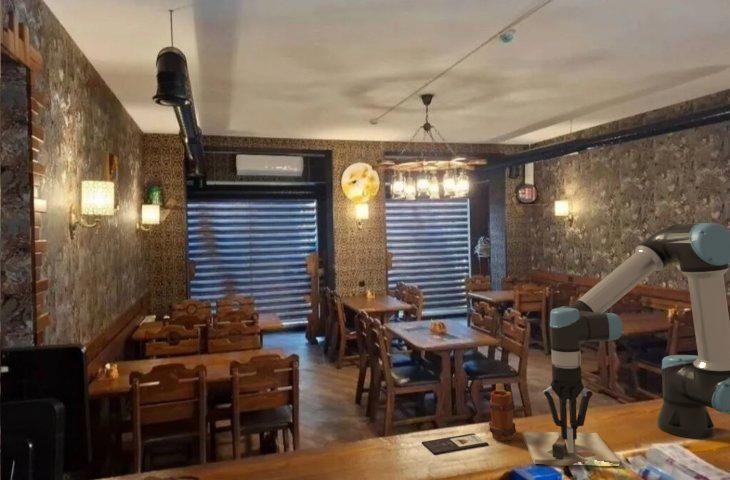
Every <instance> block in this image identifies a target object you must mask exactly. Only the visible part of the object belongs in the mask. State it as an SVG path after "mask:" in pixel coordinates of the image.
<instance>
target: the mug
mask: <svg viewBox="0 0 730 480" xmlns="http://www.w3.org/2000/svg"><path fill="white" fill-rule="evenodd" d="M488 404H489V405H488V407H489V408H490V414H491V421H489V422H488V425H489V428H488V431H489V432H490V433H491V436H492V438H493V439H494V440H497V441H502V442H503V441H510V440H512V439H513V438H514V434H515V433H516V432H517V429H516V423H515V422H514V414H513V413H514V412H513V411H514V409H515V408H516V407H515V406H516V405H515V403H514V400H513V394H512V392H510V391H507V390H504V384H503V383H497V382H496V384H495V390H492V392H490V400H489V401H488Z"/></svg>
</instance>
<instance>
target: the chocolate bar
mask: <svg viewBox="0 0 730 480" xmlns="http://www.w3.org/2000/svg"><path fill="white" fill-rule="evenodd" d="M421 444H422V445H423V447H424V448H426V449H427V450H428V451H429V452H431V454H432V455H434V456H435V455H442V454H447V453H454V452H458V451H466V450H470V449H476V448H483V447H487V446H488V447H489V445H490V444H489V443H488V441H486V440H484V439H483V438H481V437H480V436H478V435H477V434H476V433H467V434H459V435H456V436H455V435H453V436H448V437H441V438H437V439H431V440H424V441H421Z"/></svg>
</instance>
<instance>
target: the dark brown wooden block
mask: <svg viewBox="0 0 730 480" xmlns="http://www.w3.org/2000/svg"><path fill="white" fill-rule="evenodd" d="M558 432H559V438H558V439H557V440H556V442H555V443H554V444H553V445H552V450H553V457H556V458H561V459H562V458H563V457H564V455H565V453H566V452H567V450H566V446H565V439H563V438H562V436H561V430H559V431H558ZM574 446H575V440H573V447H574Z"/></svg>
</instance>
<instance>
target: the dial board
mask: <svg viewBox="0 0 730 480" xmlns="http://www.w3.org/2000/svg"><path fill="white" fill-rule="evenodd" d="M521 436H522V438H523V441H524V443H525V446H526V448H527V450H528V453H529V455H530V457H531V459H532V461H533V464H534V465H535V464H546V465H545V466H566V467H567V466H568V467H569V466H570V467H571V466H572V465H573V464H574V463H578V462H581V463H583V462H585V461H588V460H597V461H604V462H609V463H613V464H619V465H620V466H621V463H620V462H621V460H620V459H618V458H617V456H616V455H615V454H614V452H613V451H612V450H611V449H610V448H609V447H608V445H607V443H605V442H604V440H603V439H602V438H601V436H599V434H598V433H597V432H577V439H576V440H575V446H574V447H573V450H574V453H568V452H566V453H565V455H564V457H563V458H562V459H561V458H556V457H553V450H552V445H553V444H554V443H555V442H556V440H557V439H558V438H559V431H521ZM572 467H573V466H572Z"/></svg>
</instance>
